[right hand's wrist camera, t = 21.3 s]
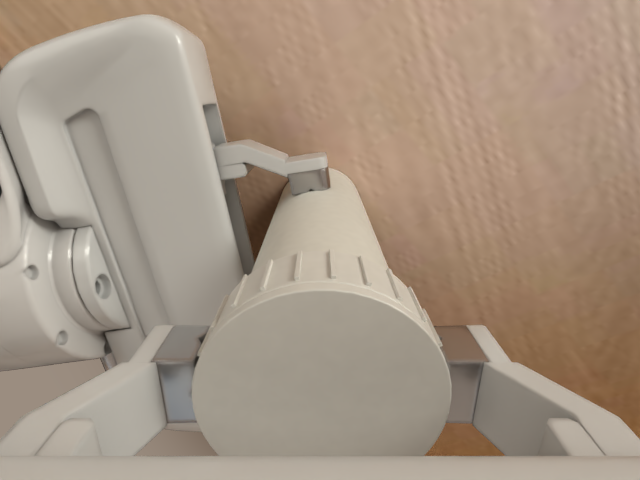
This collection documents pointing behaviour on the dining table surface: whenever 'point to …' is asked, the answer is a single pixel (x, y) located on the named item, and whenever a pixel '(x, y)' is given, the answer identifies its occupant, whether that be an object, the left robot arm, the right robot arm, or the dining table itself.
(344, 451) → the lid
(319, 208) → the jar
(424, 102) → the dining table surface
